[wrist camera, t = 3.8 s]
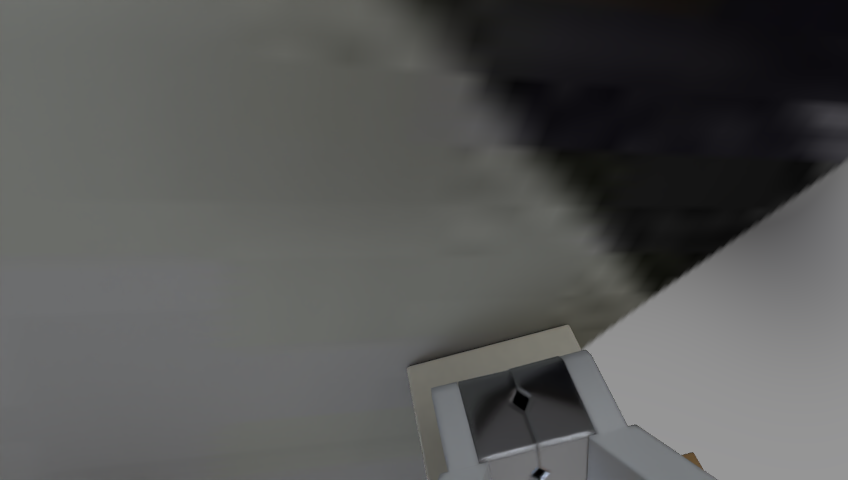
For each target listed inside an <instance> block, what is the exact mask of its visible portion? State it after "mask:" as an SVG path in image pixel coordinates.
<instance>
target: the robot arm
mask: <svg viewBox="0 0 848 480" xmlns="http://www.w3.org/2000/svg"><path fill="white" fill-rule="evenodd" d="M458 386H459V387H458ZM431 394H432V400H433V405H434V410H435V414H436V419H437V424H438V428H439V433H440V438H441V442H442V447H443V452H444V456H445V461H446V466H447V470H448V472H445V473H441V474H440V475H439V478H438V480H717V479H716V478H714V477H713V476H711V475H710V474H708V473H707V472H705V471H704V470H702V469H701V468H700V467H698V466H697V465H695V464H694V463H692V462H691V461H689V460H688V459H686V458H685V457H683V456H682V455H680V454H679V453H677V452H676V451H674V450H673V449H671V448H670V447H668V446H667V445H665V444H664V443H662V442H661V441H660V440H658V439H657V438H655V437H653V436H652V435H651V434H649V433H648V432H646V431H645V430H643V429H642V428H640V427H639V426H637V425H631V426H627V424H626V422H625V420H624V418H623V416H622V414H621V412H620V410H619V408H618V406H617V404H616V402H615V400H614V398H613V396H612V394H611V392H610V391H609V389H608V387H607V385H606V383H605V381H604V379H603V377H602V375H601V373H600V371H599V369H598V367H597V365H596V363H595V361H594V360H593V357H592V355H591V354H590V353H589V352H588V351H587V350H581V351H578V352H574V353H570V354H567V355H563V356H556V357H552V358H548V359H544V360H541V361H537V362H533V363H529V364H526V365H522V366H518V367H514V368H511V369H508V370H506V371H501V372H497V373H493V374H489V375H484V376H480V377H476V378H472V379H467V380H463V381H459V382H458V384H457V382H453V383H449V384H446V385H442V386H438V387H434V388H431Z"/></svg>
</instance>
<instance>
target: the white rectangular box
mask: <svg viewBox="0 0 848 480" xmlns="http://www.w3.org/2000/svg"><path fill="white" fill-rule="evenodd" d="M578 351H581V348H580V346H579V344H578V342H577V340H576V338H575V336H574V334H573V332H572V330H571V328H570V326H569V325H564V326H560V327H556V328H552V329H549V330H545V331H541V332H537V333H534V334H530V335H526V336H522V337H519V338H515V339H511V340H507V341H503V342H500V343H496V344H492V345H488V346H485V347H481V348H477V349H473V350H470V351H466V352H462V353H458V354H454V355H451V356H447V357H443V358H439V359H436V360H432V361H428V362H424V363H421V364H417V365H413V366H409V367H407V374H408V379H409V385H410V390H411V395H412V401H413V406H414V411H415V417H416V422H417V427H418V432H419V438H420V443H421V448H422V454H423V459H424V464H425V470H426V475H427V480H438V478H439V475H440V474H441V473H445V472H448V470H447V466H446V461H445V456H444V452H443V447H442V442H441V438H440V433H439V428H438V424H437V419H436V414H435V410H434V405H433V400H432V394H431V388H434V387H438V386H442V385H446V384H449V383H453V382H457V384H458V382H459V381H463V380H467V379H472V378H476V377H480V376H484V375H489V374H493V373H497V372H501V371H506V370H508V369H511V368H514V367H518V366H522V365H526V364H529V363H533V362H537V361H541V360H544V359H548V358H552V357H556V356H563V355H567V354H570V353H574V352H578ZM458 387H459V386H458Z"/></svg>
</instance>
